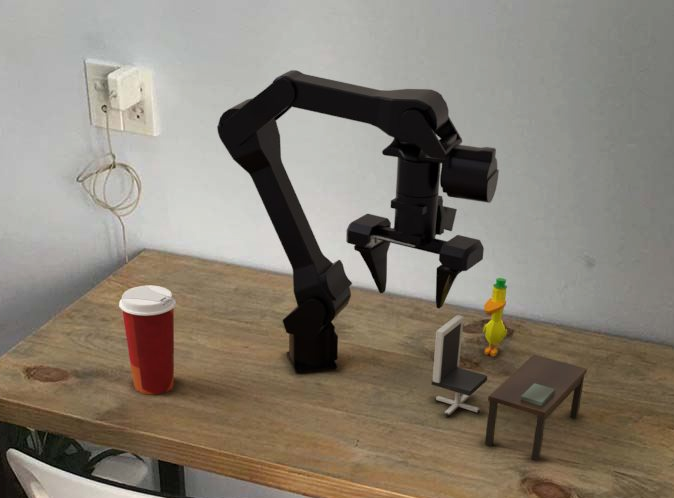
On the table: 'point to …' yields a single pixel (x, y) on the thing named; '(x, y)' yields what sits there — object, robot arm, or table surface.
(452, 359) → the white black boxy frame
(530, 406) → the desk
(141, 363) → the paper cup
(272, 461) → the table surface
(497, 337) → the toy figure
